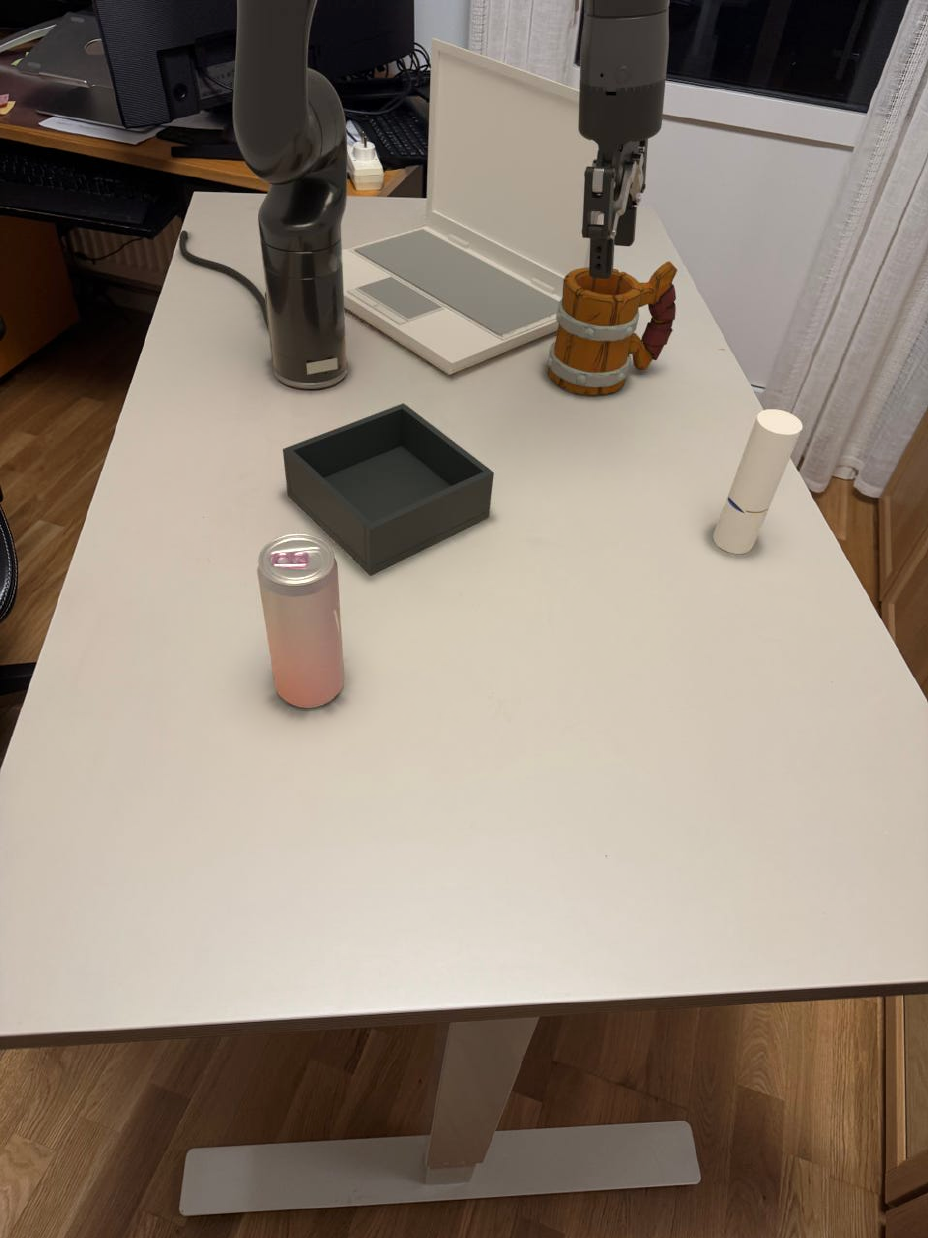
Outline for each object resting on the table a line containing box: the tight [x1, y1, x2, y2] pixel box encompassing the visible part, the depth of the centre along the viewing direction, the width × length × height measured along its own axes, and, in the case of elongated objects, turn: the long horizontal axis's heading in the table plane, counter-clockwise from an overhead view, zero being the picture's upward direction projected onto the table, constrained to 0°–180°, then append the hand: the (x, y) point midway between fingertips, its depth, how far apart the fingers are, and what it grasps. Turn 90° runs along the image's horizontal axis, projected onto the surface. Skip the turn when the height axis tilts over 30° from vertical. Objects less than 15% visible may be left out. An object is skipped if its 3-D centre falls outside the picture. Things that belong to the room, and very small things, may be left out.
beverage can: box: [256, 533, 345, 709], centre depth 68 cm, size 6×6×15 cm
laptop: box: [342, 37, 604, 376], centre depth 114 cm, size 35×26×28 cm
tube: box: [712, 408, 803, 555], centre depth 85 cm, size 4×4×15 cm
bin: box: [282, 403, 495, 576], centre depth 89 cm, size 16×16×6 cm
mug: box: [546, 261, 678, 397], centre depth 108 cm, size 11×16×15 cm, turn 102°
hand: (612, 260), depth 85 cm, fingers open, 8 cm apart
